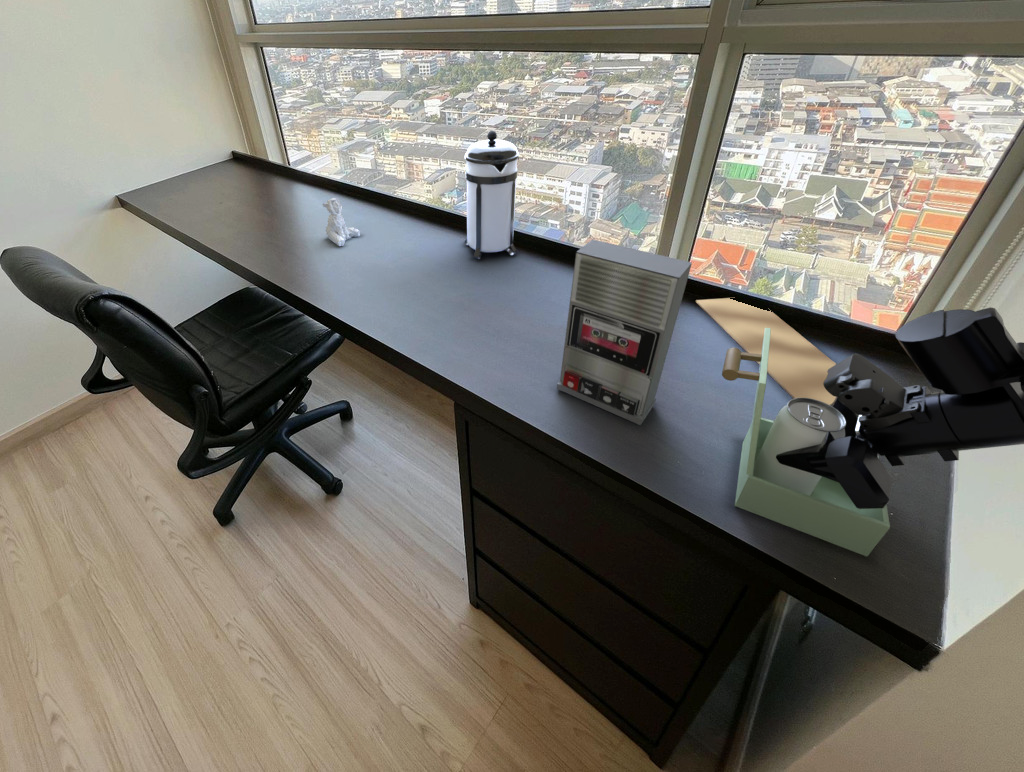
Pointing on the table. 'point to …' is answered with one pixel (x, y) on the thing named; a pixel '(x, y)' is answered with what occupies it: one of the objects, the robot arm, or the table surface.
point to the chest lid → (733, 373)
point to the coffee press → (491, 195)
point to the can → (797, 441)
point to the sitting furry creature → (338, 223)
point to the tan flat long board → (775, 347)
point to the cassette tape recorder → (620, 326)
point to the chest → (810, 506)
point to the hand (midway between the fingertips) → (783, 443)
